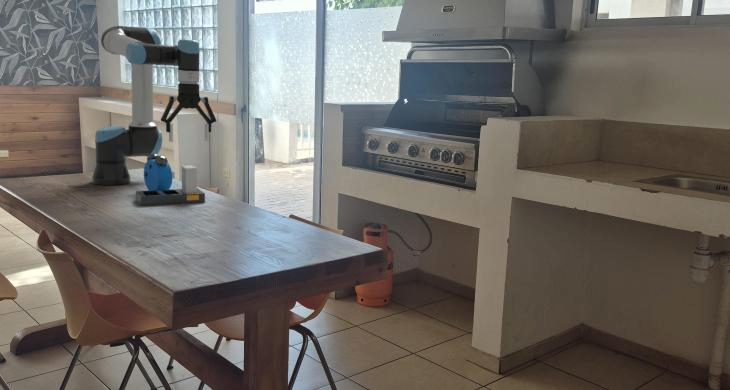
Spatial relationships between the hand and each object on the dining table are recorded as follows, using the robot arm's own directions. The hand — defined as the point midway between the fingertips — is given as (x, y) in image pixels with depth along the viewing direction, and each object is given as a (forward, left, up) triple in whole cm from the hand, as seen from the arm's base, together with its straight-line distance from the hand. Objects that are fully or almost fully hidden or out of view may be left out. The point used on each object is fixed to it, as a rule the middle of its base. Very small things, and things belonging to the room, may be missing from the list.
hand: (189, 141), depth 247 cm
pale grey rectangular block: (0, 0, -22) cm, 22 cm away
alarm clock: (-19, -8, -23) cm, 31 cm away
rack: (0, -7, -22) cm, 24 cm away
